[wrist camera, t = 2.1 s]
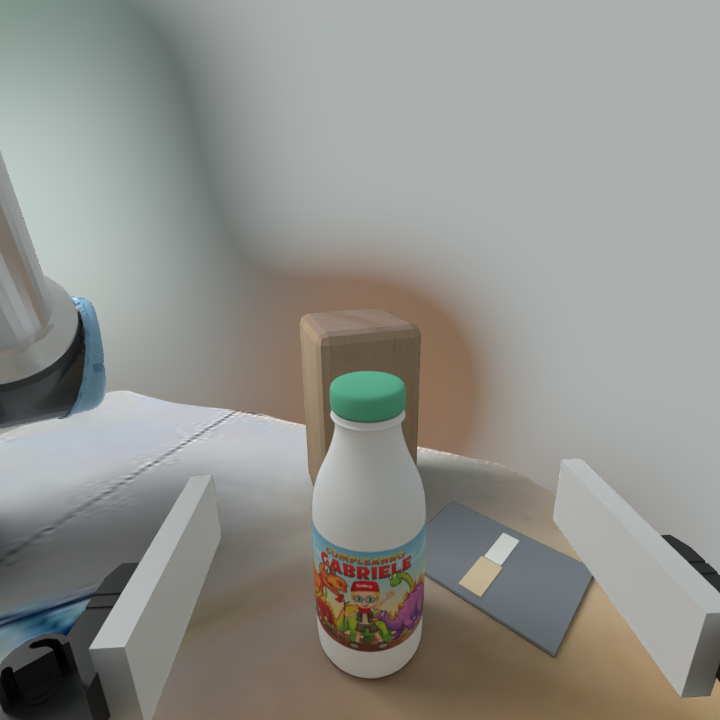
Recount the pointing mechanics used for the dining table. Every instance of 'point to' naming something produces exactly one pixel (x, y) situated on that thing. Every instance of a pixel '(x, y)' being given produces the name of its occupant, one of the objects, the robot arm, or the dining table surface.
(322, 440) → the wooden block
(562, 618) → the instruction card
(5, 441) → the dining table surface
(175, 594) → the robot arm
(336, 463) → the milk bottle
